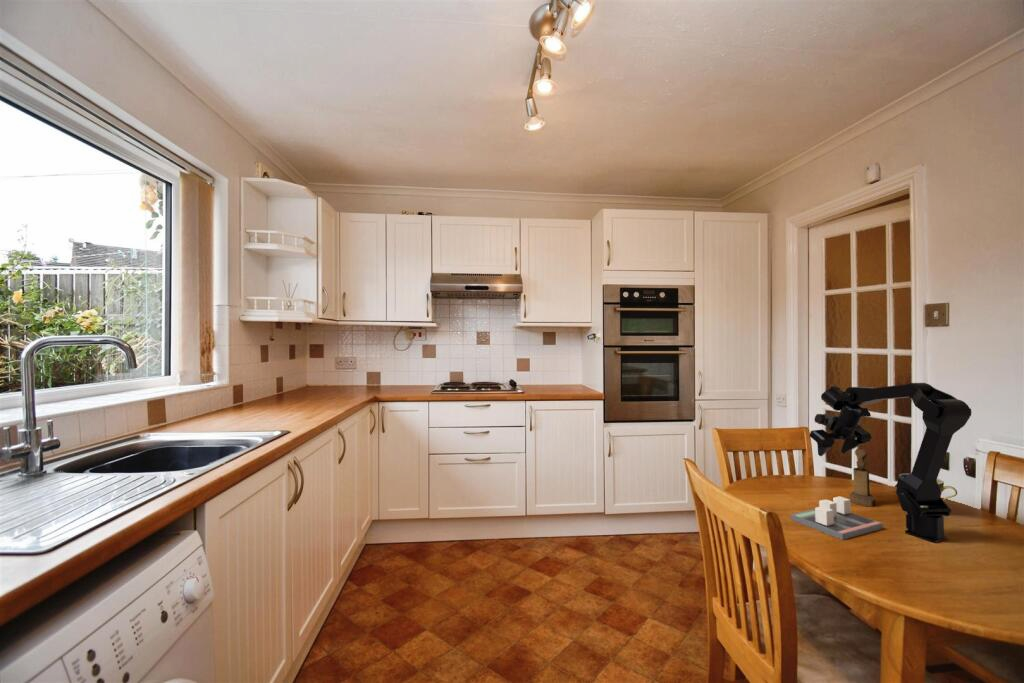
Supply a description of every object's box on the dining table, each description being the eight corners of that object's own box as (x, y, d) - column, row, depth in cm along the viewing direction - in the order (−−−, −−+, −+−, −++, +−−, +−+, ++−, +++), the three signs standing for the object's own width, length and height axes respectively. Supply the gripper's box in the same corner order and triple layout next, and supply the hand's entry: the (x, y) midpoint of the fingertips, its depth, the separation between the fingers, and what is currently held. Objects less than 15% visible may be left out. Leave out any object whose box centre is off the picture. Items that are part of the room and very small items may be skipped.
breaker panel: (882, 528, 115) (882, 523, 115) (842, 539, 109) (842, 534, 109) (829, 510, 128) (829, 505, 128) (790, 519, 122) (790, 514, 122)
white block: (850, 512, 122) (850, 499, 122) (844, 514, 121) (844, 501, 121) (839, 509, 124) (839, 496, 124) (833, 510, 123) (833, 497, 123)
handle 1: (836, 516, 119) (836, 502, 119) (830, 517, 118) (829, 504, 118) (825, 512, 122) (825, 499, 122) (819, 514, 121) (819, 500, 121)
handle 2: (833, 524, 114) (833, 510, 114) (826, 525, 113) (826, 511, 113) (822, 519, 117) (822, 506, 117) (815, 521, 116) (815, 507, 116)
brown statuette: (845, 501, 135) (843, 447, 136) (855, 497, 138) (854, 445, 138) (869, 508, 129) (867, 452, 130) (879, 504, 132) (878, 450, 132)
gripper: (851, 402, 143) (834, 436, 150) (804, 407, 140) (790, 441, 147) (881, 422, 133) (862, 457, 140) (831, 427, 130) (814, 463, 138)
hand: (831, 454), depth 142 cm, fingers open, 9 cm apart
